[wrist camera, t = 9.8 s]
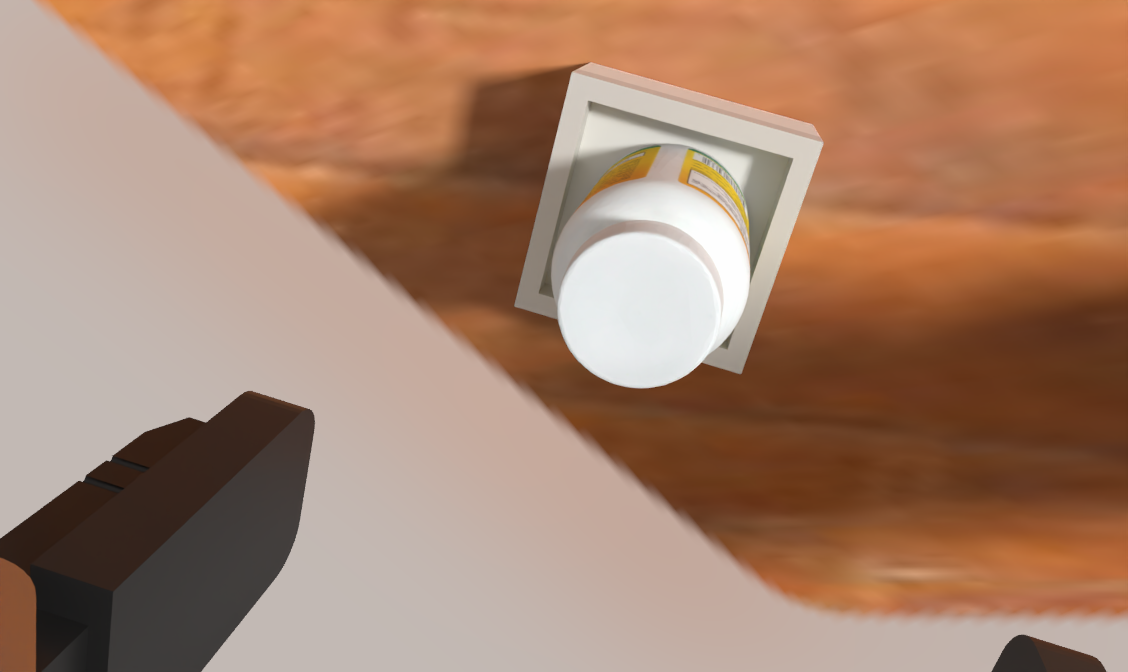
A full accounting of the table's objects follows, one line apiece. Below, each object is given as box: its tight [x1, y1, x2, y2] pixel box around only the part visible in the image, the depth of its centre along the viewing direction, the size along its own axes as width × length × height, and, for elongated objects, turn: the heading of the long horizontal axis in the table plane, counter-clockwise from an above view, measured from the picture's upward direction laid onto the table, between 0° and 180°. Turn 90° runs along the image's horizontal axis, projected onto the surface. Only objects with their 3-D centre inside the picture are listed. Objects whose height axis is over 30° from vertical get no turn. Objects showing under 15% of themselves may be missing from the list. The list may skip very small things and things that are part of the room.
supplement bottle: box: [551, 143, 750, 388], centre depth 27 cm, size 5×5×10 cm
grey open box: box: [514, 62, 824, 374], centre depth 32 cm, size 8×8×4 cm
